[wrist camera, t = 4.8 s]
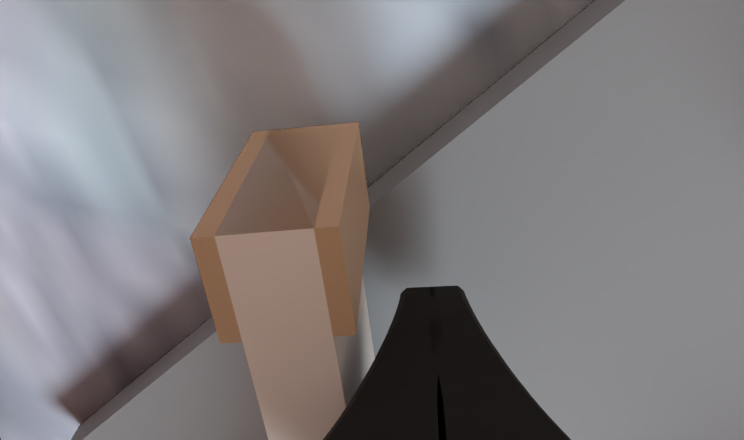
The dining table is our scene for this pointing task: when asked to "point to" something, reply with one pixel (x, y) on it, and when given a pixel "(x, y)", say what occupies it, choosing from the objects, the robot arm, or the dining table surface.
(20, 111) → the dining table surface
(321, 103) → the dining table surface
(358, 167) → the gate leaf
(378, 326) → the gate frame
